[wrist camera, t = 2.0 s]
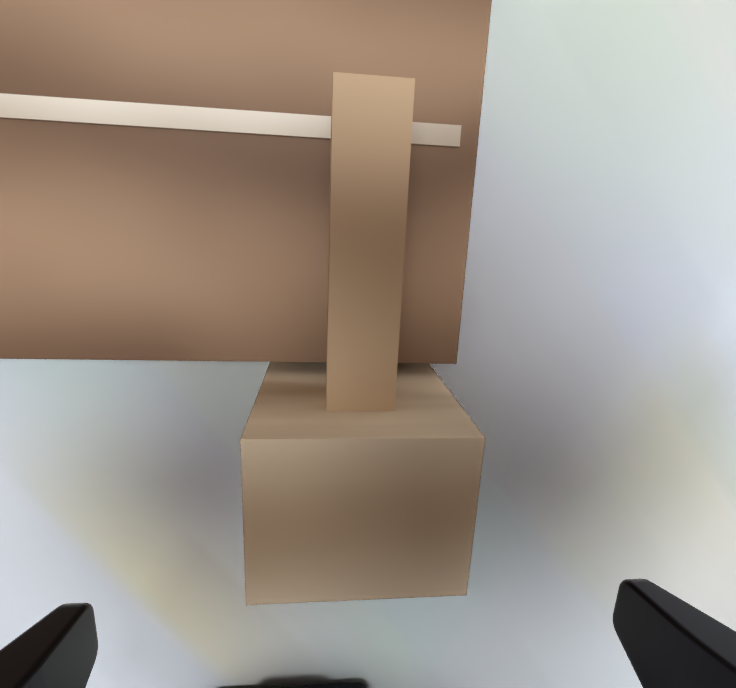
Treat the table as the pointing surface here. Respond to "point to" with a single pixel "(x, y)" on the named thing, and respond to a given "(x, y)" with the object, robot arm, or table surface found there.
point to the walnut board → (218, 172)
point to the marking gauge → (360, 404)
